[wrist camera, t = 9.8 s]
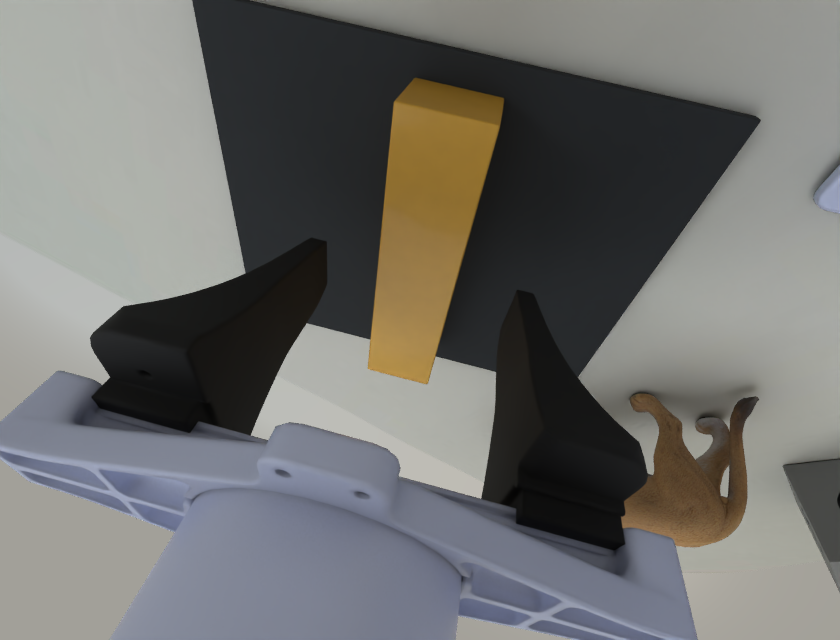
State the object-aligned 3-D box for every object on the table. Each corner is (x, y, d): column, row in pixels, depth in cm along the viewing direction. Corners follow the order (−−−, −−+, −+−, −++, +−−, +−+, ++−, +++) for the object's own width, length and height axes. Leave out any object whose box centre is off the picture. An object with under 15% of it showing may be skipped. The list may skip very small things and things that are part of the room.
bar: (436, 343, 21) (427, 385, 19) (382, 329, 21) (367, 369, 19) (504, 97, 13) (500, 126, 11) (414, 76, 13) (393, 100, 11)
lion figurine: (518, 465, 29) (515, 615, 22) (474, 427, 26) (456, 581, 20) (767, 415, 20) (876, 630, 14) (734, 352, 18) (846, 574, 12)
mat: (756, 115, 12) (762, 119, 12) (567, 385, 22) (568, 390, 22) (197, -12, 13) (189, -11, 12) (256, 304, 23) (252, 309, 22)
